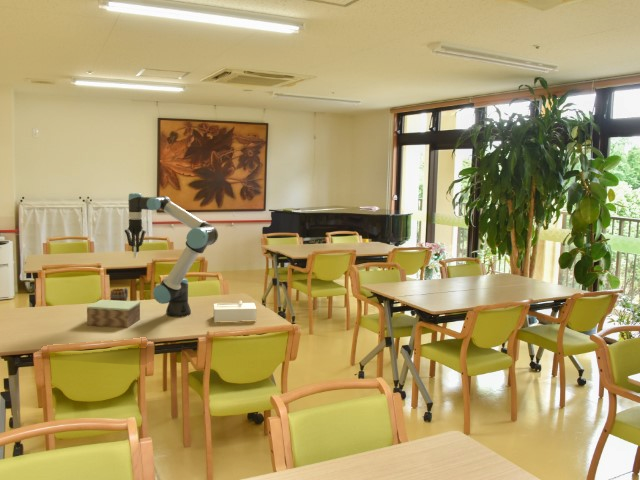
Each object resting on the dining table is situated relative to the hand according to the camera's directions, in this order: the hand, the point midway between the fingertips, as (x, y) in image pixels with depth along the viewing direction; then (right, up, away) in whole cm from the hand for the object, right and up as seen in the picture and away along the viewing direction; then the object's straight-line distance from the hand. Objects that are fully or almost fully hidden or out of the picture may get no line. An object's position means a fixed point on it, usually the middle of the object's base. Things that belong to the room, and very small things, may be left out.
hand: (135, 257), depth 357 cm
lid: (-8, -28, -14) cm, 32 cm away
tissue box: (+60, -39, +3) cm, 71 cm away
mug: (-13, -35, +10) cm, 39 cm away
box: (-9, -38, -12) cm, 41 cm away
